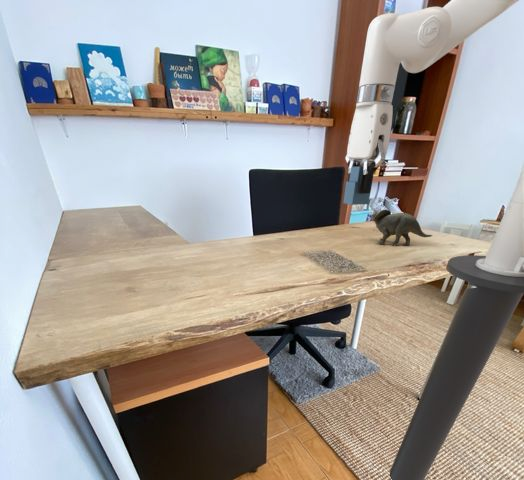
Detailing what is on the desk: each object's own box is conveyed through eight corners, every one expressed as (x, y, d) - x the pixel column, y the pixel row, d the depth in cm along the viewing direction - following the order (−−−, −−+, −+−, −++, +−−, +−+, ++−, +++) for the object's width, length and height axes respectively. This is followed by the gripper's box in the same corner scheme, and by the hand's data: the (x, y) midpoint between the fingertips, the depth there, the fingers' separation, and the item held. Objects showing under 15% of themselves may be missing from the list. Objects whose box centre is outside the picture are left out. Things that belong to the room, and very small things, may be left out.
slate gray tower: (369, 204, 75) (376, 166, 71) (353, 204, 74) (359, 166, 69) (359, 202, 79) (365, 166, 74) (343, 203, 77) (348, 166, 73)
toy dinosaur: (429, 247, 99) (441, 210, 93) (422, 252, 94) (434, 213, 88) (367, 237, 111) (374, 204, 105) (358, 241, 105) (364, 206, 99)
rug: (333, 274, 74) (334, 270, 74) (301, 253, 90) (301, 250, 89) (366, 270, 77) (367, 267, 76) (330, 251, 92) (330, 248, 92)
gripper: (416, 94, 59) (392, 195, 69) (365, 105, 72) (351, 189, 83) (386, 91, 57) (365, 196, 67) (339, 102, 70) (328, 189, 80)
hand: (357, 191), depth 75 cm, fingers closed on slate gray tower, 4 cm apart
